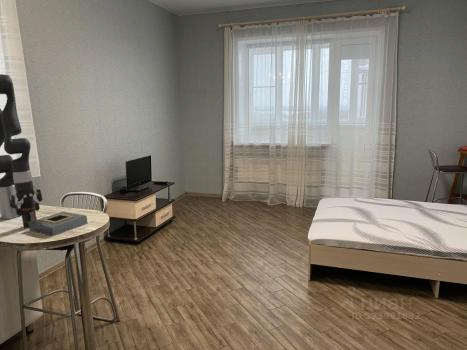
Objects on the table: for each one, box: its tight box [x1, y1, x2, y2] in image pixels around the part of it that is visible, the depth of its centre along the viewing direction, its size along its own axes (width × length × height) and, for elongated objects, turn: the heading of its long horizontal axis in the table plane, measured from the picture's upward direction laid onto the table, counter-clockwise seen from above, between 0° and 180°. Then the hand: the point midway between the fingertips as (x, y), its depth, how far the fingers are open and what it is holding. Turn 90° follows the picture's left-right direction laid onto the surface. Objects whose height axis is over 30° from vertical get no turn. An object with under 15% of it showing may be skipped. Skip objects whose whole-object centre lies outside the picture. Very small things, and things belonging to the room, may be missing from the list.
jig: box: [28, 211, 88, 237], centre depth 165 cm, size 18×18×4 cm
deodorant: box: [19, 196, 37, 229], centre depth 167 cm, size 6×6×15 cm
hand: (28, 213), depth 167 cm, fingers open, 8 cm apart
